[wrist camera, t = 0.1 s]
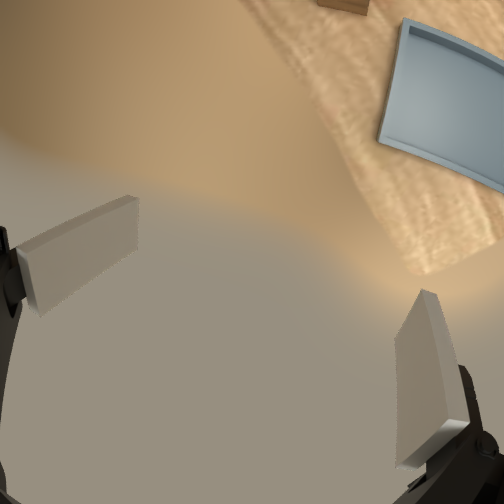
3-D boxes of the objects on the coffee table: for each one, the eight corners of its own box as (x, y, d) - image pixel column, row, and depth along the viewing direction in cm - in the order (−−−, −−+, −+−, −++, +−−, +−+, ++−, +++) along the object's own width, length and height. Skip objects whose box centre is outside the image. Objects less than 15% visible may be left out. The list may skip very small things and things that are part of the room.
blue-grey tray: (399, 26, 27) (403, 17, 23) (541, 95, 22) (555, 94, 19) (376, 140, 34) (378, 142, 31) (517, 199, 29) (529, 207, 26)
